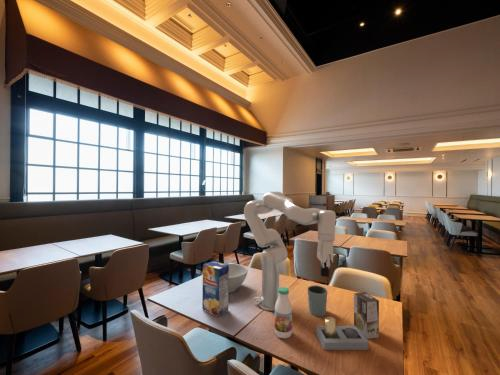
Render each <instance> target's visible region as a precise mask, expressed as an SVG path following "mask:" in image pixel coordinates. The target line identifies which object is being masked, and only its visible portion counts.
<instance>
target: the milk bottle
mask: <svg viewBox="0 0 500 375" xmlns="http://www.w3.org/2000/svg"><path fill="white" fill-rule="evenodd" d="M289 291H290V290H289V288H288V287H283V286H279V289H278V294H279V296H278V299H277V301H276V304H275V311H274V334H275V335H276V337H277V338H280V339H288V338H291V336H292V334H293V315H292V314H293V312H292V311H293V307H292V304H291V301H290V298H289Z"/></svg>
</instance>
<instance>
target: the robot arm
mask: <svg viewBox="0 0 500 375" xmlns="http://www.w3.org/2000/svg"><path fill="white" fill-rule="evenodd" d="M275 210H276V211H277V212H280V213H282V214H284V215H285V216H286V217H287V218H288V219H289V220H291V221H293V222H296V223H297V224H299V225H304V226H309V225H314V224H317V240H318V241H317V247H316V248H317V250H316V258H317V259H318V261H320V276H321V277H329V276H330V275H329V274H330V272H329V271H330V267H331V264H333V263H334V242H335V237H336V220H337V216H336V215H337V214H336V211H334V210H330V209H328V210H327V209H321V208H317V207H311V208H304V207H303V208H302V207H300V206H298V205H296V204H294V200H293V199H292V198H290V197H287V196H286V195H285V194H284V193H283V192H281V191H267V192H266V193H264V194H263V197H262V199H255V200H253V199H252V200H249V201H248V202H246V204H245V206H244V209H243V215H244V219H245V221H246V222H247V224H248V226H249V228H250V231H251V233H252V235H253V238H254V240H255V242H256V244H257V246H258V247H259V248H266V247H268V248H266V249H264V250H263V251H262V252H261V253H260V264H261V277H262V278H261V280H262V281H261V283H262V284H261V296H254V297H253V302H255V303H259V304H258V305H259V307H260V308H261V309H263V310H264V311H269V312H273V311H274V312H275V304H276V301H277V299H278V296H279V294H278V289H279V288H280V270H279V268H278V265H279V264H280V263H283V262H285V261H286V260H287V258H288V251H287V250H288V249H287V248H286V245H285V243H284V241H283V239H282V237H281V235H280V233H279V232H278V231H277V230H276V229H274V228H267V227H266V225H265V222H264V221H263V220H262V218H261V217H260V216H259V215H263V214H264V215H266V214H269V213H271V212H273V211H275ZM269 246H270V247H269Z"/></svg>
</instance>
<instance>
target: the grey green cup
mask: <svg viewBox="0 0 500 375" xmlns="http://www.w3.org/2000/svg"><path fill="white" fill-rule="evenodd" d="M307 298H308V299H307V300H308V311H309V314H311V315H313V316H315V317H324V316H325V315H326V314H327V302H328V299H327V298H328V289H327V288H326V287H324V286H321V285H313V284H312V285H310V286H308V287H307Z"/></svg>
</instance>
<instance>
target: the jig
mask: <svg viewBox="0 0 500 375" xmlns="http://www.w3.org/2000/svg"><path fill="white" fill-rule="evenodd" d="M315 333H316V335H317V337H318V339H319V342H320V343H321V346H322V348H323V350H324V351H347V350H348V351H352V350H353V351H366V350H367V351H369V344H370V343H369V341H368V339H367V338H366V337H364V336H363V335H362V334H361V332H360V331H359V330H358V328H357V327H356V326H354V325H336V339H326V338H325V325H316V326H315Z"/></svg>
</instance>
